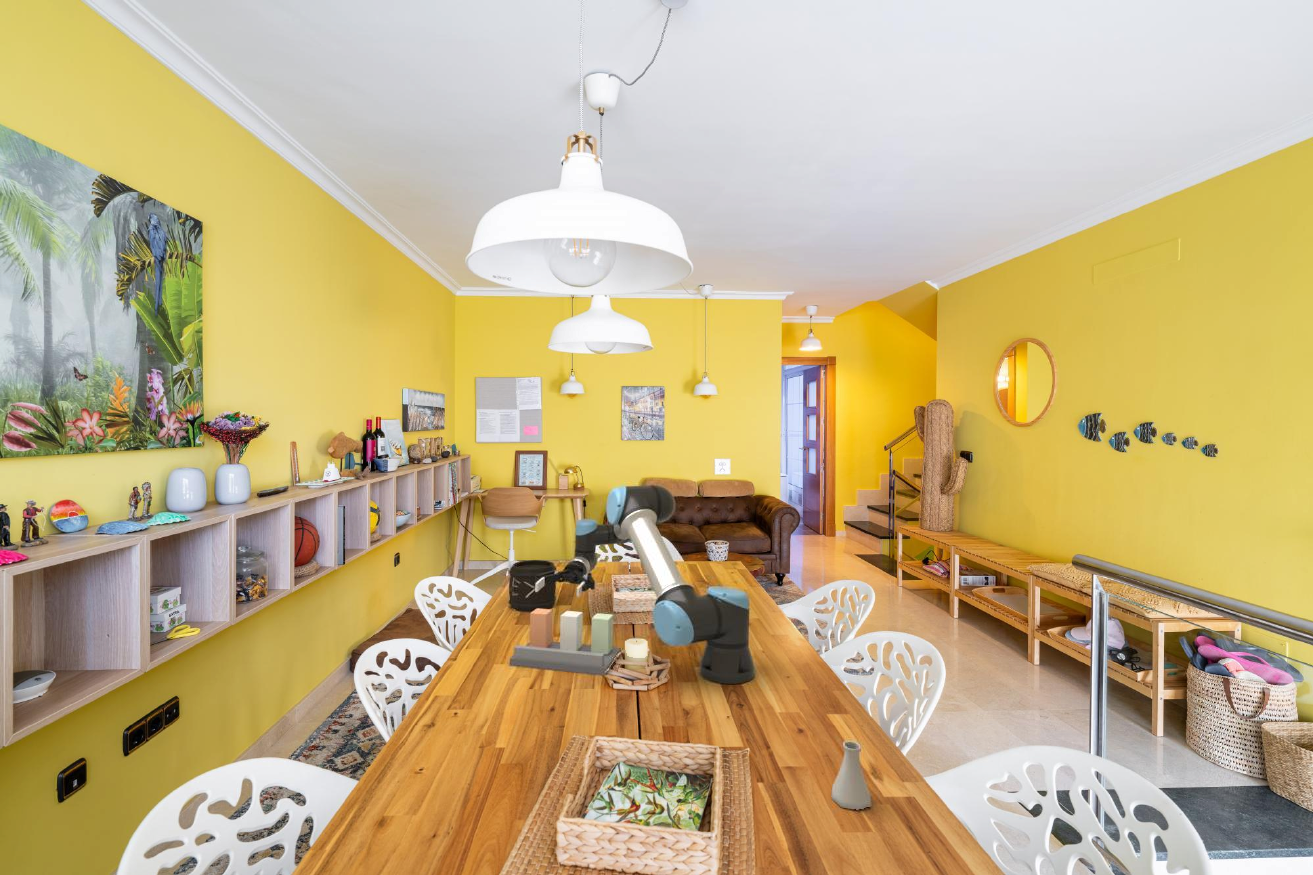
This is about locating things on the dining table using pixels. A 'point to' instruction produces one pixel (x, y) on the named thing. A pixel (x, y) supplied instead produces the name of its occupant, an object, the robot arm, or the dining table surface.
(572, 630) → the grey key
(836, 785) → the flask
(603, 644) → the sage key
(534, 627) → the salmon orange block
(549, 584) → the black lettered canister
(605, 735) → the dining table surface
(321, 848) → the dining table surface
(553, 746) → the dining table surface
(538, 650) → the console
